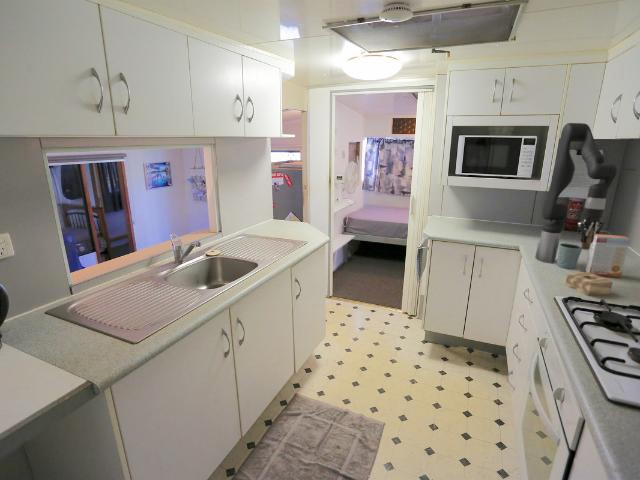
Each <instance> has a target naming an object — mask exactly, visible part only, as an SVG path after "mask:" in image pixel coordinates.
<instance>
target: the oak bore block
mask: <svg viewBox="0 0 640 480" xmlns="http://www.w3.org/2000/svg"><path fill="white" fill-rule="evenodd" d="M565 279H566V280H565V284H564V285H565V287H568V288H570V289H573V290H575V291H576V292H579V293H581V294H583V295H585V296H588V297H589V296H591V297H592V296H599V295H610V294H611V290H612V286H613V283H614V281H613V280H610V279H607V278H604V277H602V276H599V275H595V274H592V273H590V272H586V271H584V272H571V273H567V276H566V278H565Z"/></svg>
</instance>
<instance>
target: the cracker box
mask: <svg viewBox="0 0 640 480" xmlns="http://www.w3.org/2000/svg"><path fill="white" fill-rule="evenodd" d="M630 240H631V238H629V237H627V236H626V235H617V234H616V235H614V234H602V233H601V234H600V233H599V234H596V235H594V240H593V242H592V243H591V244H590V248H589V250H588V252H589V253H588V256H587V260H586V265H585V269H584V270H585V271H584V272H590V273H592V274H595V275H597V276H600V277H602V276H603V277H610V278H620V279H621V275H622V273H623V268H624V265H625V261H626V257H627V252H628V250H629V245H630Z"/></svg>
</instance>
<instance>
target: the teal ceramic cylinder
mask: <svg viewBox="0 0 640 480" xmlns="http://www.w3.org/2000/svg"><path fill="white" fill-rule="evenodd" d="M581 247H582V246H581V245H578V244H577V245H576V244H573V243H559V245H558V253H557V262H556V266H557V267H558V268H559V269H560V268H561V269H565V270H575V269H576V267H577V264H578V261H579V258H580V255H581V252H582V250H583V249H581Z"/></svg>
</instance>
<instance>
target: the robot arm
mask: <svg viewBox="0 0 640 480" xmlns="http://www.w3.org/2000/svg"><path fill="white" fill-rule="evenodd" d="M572 142H573V143H581V144H582V145H583V147H582V149H581V152H580V154H581V158H582V160H583V161H584V163H585V164H586V170H587V175H588V177H589V178H590V179H592V180H599V182H598V183H595V184H591V185H589V187H588V192H587V196H586V197H587V198H586V199H585V203H584V208H583V212H582V217H583V219H582V221H578V222H577V223H576V227H577V233H578V234H579V235H581V238H580V243H581V244H582V243H586V241H587V235H588V233H589V231H590V230H591V227H594V231H593V235H592V239H591V243H592V242H593V240H594V235H596V234H600V232H601V230H602V229H603V227H604V225H605V222H604V221H601V219H602V218H603V217H604V216H603V215H604V211H605V208H606V207H605V206H606V201H607V195H608V190H609V189H610V187H611V185H612V184H613V181H614V180H615V178H616V176H617V174H618V169H617V166H616V165H615V164H613V163H604V162H605V156H604V155H603V154H602V152H601V151H600V149H599V148H598V146H597V145H596V144H597V143H596V142H595V137H594V135H593V133H592V130H591V127H590V126H589V124H587V123H583V122H581V123H580V122H567V123H566V124H565V125H564V126H563V127H562V129H561V133H560V139H559V145H558V152H557V157H556V160H555V164H554V168H553V170H552V171H553V172H552V175H551V181H550V185H549V189H548V192H547V195H546V198H545V200H544V203H543V205H542V206H543V207H542V211H541V213H542V214H541V215H542V218H543V219H545V220H550V222H549V223H546V224H544V225H543V226H542V228H541V235H540V239H539V242H538V243H537V246H536V251H535V257H534V258H535V259H536V260H537V261H539V262H542V263H548V264H549V263H550V264H554V263H556V259H557V256H558V251H559V245H560V240H561V235H562V230H563V229H564V227H565V223H566V220H567V216H568V211H569V210H568V206H567V205H566V204H565V203H562V202H561V203H560V202H557V201H558V199H559V197H560V196H561V194H562V192H563V191H564V190H565V189H566V188H568V186H569V185H570V184H571V182H572V181H573V178H574V174H575V169H576V166H575V162H574V160H573V157H571V152H570V151H571V150H570V149H571V143H572ZM586 228H588V229H586ZM585 230H586V232H585Z"/></svg>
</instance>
